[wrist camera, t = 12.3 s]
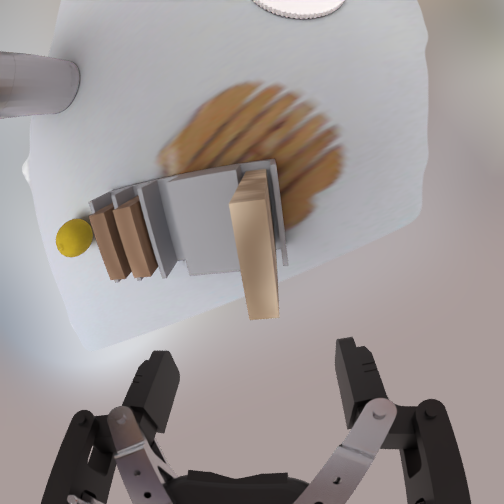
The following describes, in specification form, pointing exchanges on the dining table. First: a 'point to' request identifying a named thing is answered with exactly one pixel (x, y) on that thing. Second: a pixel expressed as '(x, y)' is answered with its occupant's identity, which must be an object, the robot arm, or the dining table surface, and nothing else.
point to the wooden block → (256, 244)
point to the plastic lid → (300, 7)
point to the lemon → (74, 238)
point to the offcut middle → (135, 238)
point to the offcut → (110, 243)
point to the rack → (196, 216)
